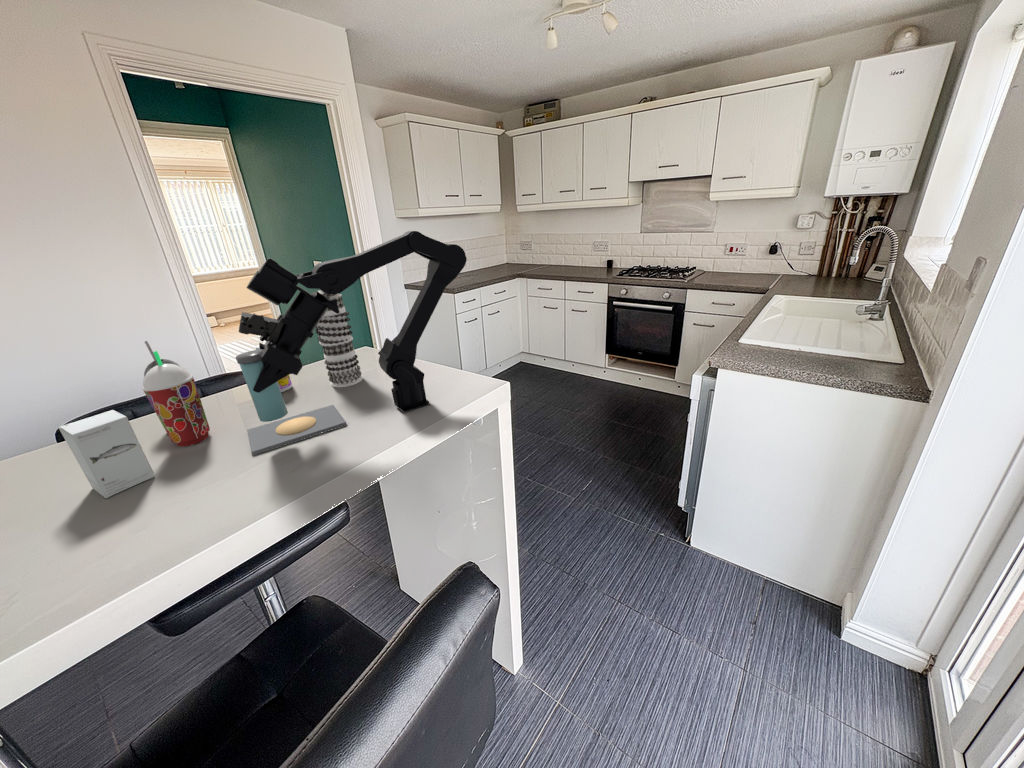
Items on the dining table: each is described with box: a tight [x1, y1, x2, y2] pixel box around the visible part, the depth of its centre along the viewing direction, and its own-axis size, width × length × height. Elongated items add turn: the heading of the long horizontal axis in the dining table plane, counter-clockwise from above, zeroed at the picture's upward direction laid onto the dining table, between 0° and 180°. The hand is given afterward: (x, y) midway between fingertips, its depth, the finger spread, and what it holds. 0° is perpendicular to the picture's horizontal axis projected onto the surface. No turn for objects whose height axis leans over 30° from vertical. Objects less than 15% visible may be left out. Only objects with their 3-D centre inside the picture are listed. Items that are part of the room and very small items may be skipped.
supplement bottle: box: [255, 342, 293, 393], centre depth 110 cm, size 7×7×13 cm
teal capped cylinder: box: [235, 349, 289, 423], centre depth 79 cm, size 5×5×13 cm
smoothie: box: [141, 350, 211, 448], centre depth 84 cm, size 8×8×20 cm
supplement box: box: [58, 409, 156, 499], centre depth 72 cm, size 7×7×13 cm
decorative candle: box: [311, 289, 363, 388], centre depth 109 cm, size 9×9×25 cm
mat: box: [246, 404, 348, 456], centre depth 89 cm, size 18×12×1 cm, turn 125°
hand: (255, 387), depth 79 cm, fingers closed on teal capped cylinder, 5 cm apart
